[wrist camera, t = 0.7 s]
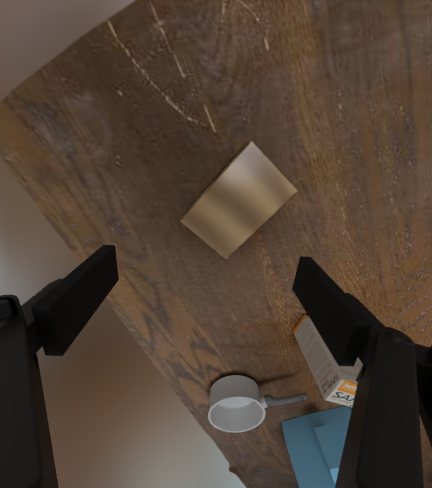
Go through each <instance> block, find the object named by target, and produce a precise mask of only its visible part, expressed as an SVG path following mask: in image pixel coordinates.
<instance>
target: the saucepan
mask: <svg viewBox="0 0 432 488" xmlns="http://www.w3.org/2000/svg"><path fill="white" fill-rule="evenodd" d="M306 399H307V397H306V394H305V393H303V394H298V395H292V396H287V397H282V398H277V397H273V396H271V395H264V396H262V397H260V393H259V388H258V385H257V384H256V383H255V382H254V381H253V380H252V379H250V378H248V377H245V376H240V375H231V376H226V377H224V378H221V379H219V380H218V381H216V382H215V383H214V384H213V385H212V387H211V390H210V410H209V413H208V419H209V421H210V423H211V424H212V425H213V426H214V427H215V428H217V429H219V430H222V431H225V432H234V433H236V432H244V431H248V430H251V429H253V428H255V427H257V426H258V425H259V424H260V423H261V422H262V421H263V420H264V418H265V409H264V408H266V407H270V406H271V405H283V404H288V403H292V402H297V401H302V400H306Z"/></svg>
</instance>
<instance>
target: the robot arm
mask: <svg viewBox="0 0 432 488" xmlns="http://www.w3.org/2000/svg"><path fill="white" fill-rule="evenodd" d="M118 280H119V278H118V269H117V260H116V251H115V245H103V246H102V247H100V248H99V249H98V250H97V251H96V252H95V253H93V254H92V255H91V256H90V257H89V258H87V259H86V260H85V261H84V262H83V263H82V264H80V265H79V266H78V267H77V268H76V269H75V270H73V271H72V272H71V273H70V274H69V275H68V276H66V277H65V278H64V279H58V280H56V281H54V282H52V283H50V284H48V285H47V286H46V287H44V288H43V289H42V291H39V292H38V293H37V294H36V296H33V297H32V298H31V299H29V300H28V301H27V302H26V303H24V304H23V305H22V306H21V305H20V302H19V299H18V297H17V296H14V295H2V296H0V488H58V481H57V475H56V469H55V463H54V456H53V450H52V444H51V438H50V432H49V426H48V419H47V413H46V407H45V401H44V395H43V388H42V382H41V376H40V369H39V364H38V358H37V355H36V353H37V351H38V350H39V349H40V348H41V347H42V346H43V349H44V352H45V355H50V356H63V355H64V353H65V352H66V350H67V349H68V348H69V346H70V345H71V344H72V342H73V341H74V340H75V338H76V337H77V336H78V334H79V333H80V331H81V330H82V329H83V327H84V326H85V325H86V323H87V322H88V321H89V319H90V318H91V317H92V315H93V314H94V312H95V311H96V310H97V308H98V307H99V306H100V304H101V303H102V302H103V300H104V299H105V298H106V296H107V295H108V293H109V292H110V291H111V289H112V288H113V287H114V285H115V284H116V283H117V281H118ZM292 289H293V291H294V292H295V294H296V296H297V297H298V299H299V301H300V302H301V304H302V306H303V307H304V309H305V311H306V312H307V314H308V316H309V317H310V319H311V321H312V322H313V324H314V326H315V327H316V329H317V331H318V332H319V334H320V336H321V338H322V339H323V341H324V343H325V344H326V346H327V348H328V349H329V351H330V353H331V354H332V356H333V358H334V359H335V361H336V363H337V364H338V366H351V367H354V365H355V362H356V360H357V358H359V360H360V361H361V362H362V364H363V365H362V368H361V370H360V372H359V374H358V376H357V378H356V381H357V382H358V383H357V388H356V393H355V397H354V402H353V406H352V411H351V416H350V420H349V425H348V429H347V434H346V439H345V443H344V448H343V452H342V457H341V462H340V466H339V471H338V475H337V480H336V484H335V488H424V486H423V469H422V453H421V436H420V420H419V414H420V417H421V420H422V422H423V425H424V428H425V430H426V433H427V436H428V439H429V441H430V444H431V447H432V346H431V347H426V346H422V345H418V344H415V343H414V342H413V341H412V340H411V339H410V338H409V337H408V336H407V335H405V334H404V333H402V332H400V331H398V330H396V329H393V328H390V327H385V326H384V325H383V324H382V323H381V322H380V321H379V320H378V319H377V318H376V317H375V316H374V315H373V314H372V313H371V312H370V311H368V309H367V308H366V307H365V306H363V304H362V303H361V302H360V301H359V300H358V299H357V298H355V297H354V296H352V295H351V294H349V293H344V291H343V290H342V289H341V288H340V287H339V286H338V285H337V284H336V283H335V282H334V281H333V280H332V279H331V278H330V277H329V276H328V275H327V274H326V273H325V272H324V271H323V269H322V268H321V267H320V266H319V265H318V264H317V263H316V262H315V261H314V260H313V259H312V258H311V257H302V256H300V259H299V263H298V268H297V272H296V276H295V280H294V284H293V288H292Z"/></svg>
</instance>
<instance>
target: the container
mask: <svg viewBox="0 0 432 488" xmlns="http://www.w3.org/2000/svg"><path fill="white" fill-rule="evenodd" d="M350 416H351V409H350V408H349V406H342V407H337V408H333V409H328V410H324V411H319V412H315V413H311V414H307V415H304V416H300V417H296V418H292V419H289V420H286V421H283V422H282V428H283V433H284V437H285V441H286V445H287V449H288V452H289V456H290V459H291V463H292V466H293V469H294V473H295V476H296V479H297V482H298V485H299V488H335V484H336V480H337V475H338V471H339V466H340V462H341V457H342V452H343V448H344V443H345V439H346V434H347V429H348V425H349V420H350Z"/></svg>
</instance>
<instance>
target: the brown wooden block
mask: <svg viewBox="0 0 432 488" xmlns="http://www.w3.org/2000/svg"><path fill="white" fill-rule="evenodd" d="M296 192H297V190H296V189H295V187H294V186H293V185H292V184H291V183H290V182H289V181H288V180H287V179H286V178H285V177H284V175H283V174H282V173H281V172H280V171H279V170H278V169H277V168H276V167H275V166H274V165H273V163H272V162H271V161H270V160H269V159H268V158H267V157H266V156H265V155H264V154H263V153H262V152H261V150H260V149H259V148H258V147H257V146H256V145H255V144H254V143H253V142H252V141H250V142H248V143H247V144H246V145H245V146H244V147H243V148H242V149H241V151H240V152H239V153H238V154H237V155H236V156H235V157H234V158H233V160H232V161H231V162H230V163H229V164H228V165H227V166H226V167H225V169H224V170H223V171H222V172H221V173H220V174H219V175H218V176H217V178H216V179H215V180H214V181H213V182H212V183H211V184H210V185H209V187H208V188H207V189H206V190H205V191H204V192H203V193H202V194H201V196H200V197H199V198H198V199H197V200H196V201H195V202H194V203H193V205H192V206H191V207H190V208H189V209H188V210H187V211H186V212H185V214H184V215H183V216H182V218H181V220H180V222H182V223H183V224H184V225H185V226H186V227H188V228H189V229H190V230H191V231H192V232H194V233H195V234H196V235H197V236H198V237H200V238H201V239H202V240H203V241H204V242H206V243H207V244H208V245H209V246H210V247H212V248H213V249H214V250H215V251H216V252H218V253H219V254H220V255H221V256H222V257H224V258H225V259H227V258H228V257H229V256H230V255H231V254H232V253H233V252H234V251H235V250H236V249H238V248H239V247H240V246H241V245H242V244H243V243H244V242H245V241H246V240H247V239H248V238H249V237H250V236H251V235H252V234H253V233H254V232H255V231H256V230H257V229H258V228H259V227H260V226H261V225H263V224H264V223H265V222H266V221H267V220H268V219H269V218H270V217H271V216H272V215H273V214H274V213H275V212H276V211H277V210H278V209H279V208H280V207H281V206H282V205H283V204H284V203H285V202H286V201H288V200H289V199H290V198H291V197H292V196H293V195H294V194H295V193H296Z"/></svg>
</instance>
